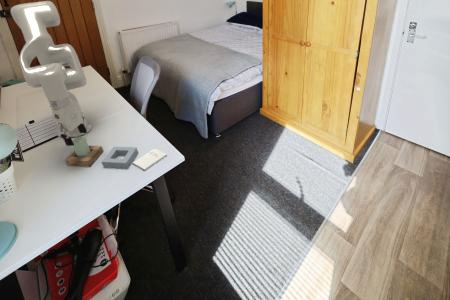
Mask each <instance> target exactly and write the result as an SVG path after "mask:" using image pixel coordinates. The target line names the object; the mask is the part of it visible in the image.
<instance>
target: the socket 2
mask: <svg viewBox="0 0 450 300" xmlns="http://www.w3.org/2000/svg"><path fill="white" fill-rule="evenodd" d="M138 154H139V150H138V148H137V147H134V146H132V147H131V146H113V147H112V148H111V149H110V150H109V151H108V153H107V154H106V156H105V157H104V158H103V159H102V161H101V164H102V167H103V168H109V169H127V170H128V169H129V168H130V166H131V165H132V163H133V162H134V161H135V159H136V157H137V156H138ZM118 156H121V157H123V156H124V157H123V158H118Z"/></svg>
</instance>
